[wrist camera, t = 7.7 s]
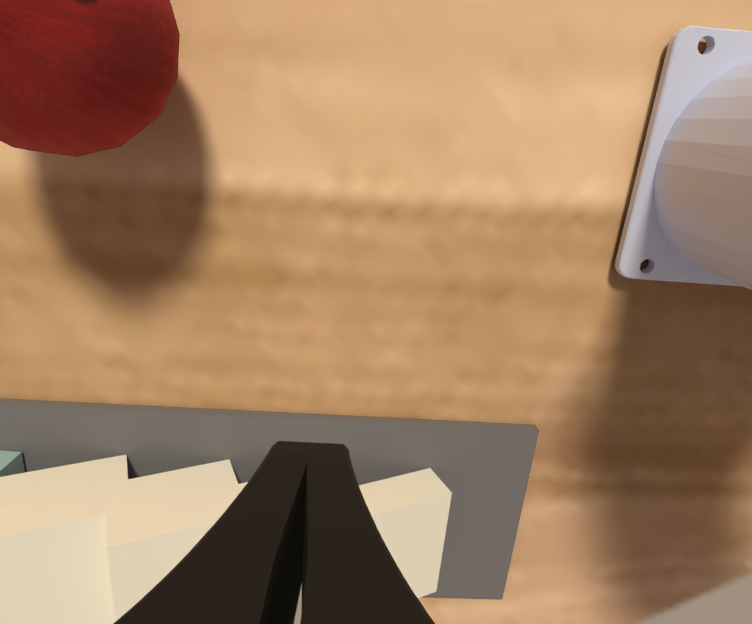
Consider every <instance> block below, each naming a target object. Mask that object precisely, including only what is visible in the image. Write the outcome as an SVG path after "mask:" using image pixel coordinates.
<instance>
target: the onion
mask: <svg viewBox="0 0 752 624" xmlns="http://www.w3.org/2000/svg"><path fill="white" fill-rule="evenodd" d="M178 54H179V31H178V27H177V24H176V20H175V17H174V13H173V10H172V6H171V3H170V0H0V141H2V142H4V143H6V144H8V145H10V146H12V147H15V148H20V149H26V150H31V151H39V152H46V153H53V154H60V155H68V156H75V157H78V156H82V155H86V154H90V153H94V152H99V151H103V150H107V149H111V148H115V147H119V146H122V145H123V144H124V143H126V142H127V141H128V140H130V139H131V138H132V137H133V136H135V135H136V134H137V133H138V132H140V131H141V130H142V129H143V128H145V127H146V126H147V125H148V124H150V123H151V122H152V121H153V120H155V119H156V118H157V117H158V116H160V114H161V112H162V110H163V108H164V106H165V103H166V101H167V99H168V97H169V95H170V92H171V90H172V88H173V86H174V84H175V81H176V79H177V75H178Z"/></svg>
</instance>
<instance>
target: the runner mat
mask: <svg viewBox="0 0 752 624" xmlns="http://www.w3.org/2000/svg"><path fill="white" fill-rule="evenodd" d="M538 432H539V430H538V428H537V427H536V425H524V424H504V423H484V422H463V421H443V420H423V419H402V418H382V417H362V416H341V415H321V414H301V413H280V412H260V411H240V410H219V409H199V408H179V407H158V406H138V405H118V404H97V403H77V402H56V401H36V400H16V399H0V450H2V451H14V452H21V453H22V459H23V464H24V470H25V472H31V471H37V470H42V469H48V468H53V467H59V466H65V465H70V464H76V463H81V462H87V461H93V460H98V459H104V458H109V457H115V456H121V455H127V465H128V475H129V479H133V478H138V477H143V476H148V475H153V474H158V473H163V472H168V471H173V470H178V469H183V468H188V467H193V466H198V465H203V464H208V463H213V462H218V461H223V460H228V459H230V462H231V465H232V468H233V471H234V474H235V476H236V479H237V482H238V484H241V483H245V482H248V481H249V480H250V479H251V477H252V476H253V474H254V473H255V472H256V470H257V469H258V467H259V466H260V464H261V463H262V461H263V460H264V458H265V457H266V455H267V454H268V452H269V450H270V449H271V447H272V446H273V445H274V444H275V443H276V442H278V441H292V442H313V443H335V444H344V445H345V446H346V447H347V448H348V449H349V454H350V459H351V463H352V467H353V470H354V473H355V477H356V479H357V482H358V485H363V484H367V483H371V482H375V481H379V480H383V479H387V478H391V477H395V476H399V475H404V474H408V473H412V472H416V471H420V470H424V469H428V468H431V469H432V471H433V472H434V473H435V474H436V475H437V476H438V477H439V479H440V480H441V481H442V482H443V483H444V484H445V485H446V487H447V488H448V489H449V490H450V491H451V492H452V496H451V502H450V508H449V515H448V521H447V527H446V534H445V540H444V546H443V552H442V559H441V565H440V571H439V578H438V584H437V590H436V592H434V593H431V594H428V595H425V596H423V597H432V598H468V599H502V598H503V593H504V588H505V584H506V579H507V575H508V570H509V565H510V561H511V556H512V552H513V547H514V542H515V538H516V533H517V529H518V524H519V519H520V515H521V510H522V506H523V501H524V496H525V492H526V487H527V483H528V478H529V473H530V469H531V464H532V460H533V455H534V451H535V446H536V441H537V437H538Z"/></svg>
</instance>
